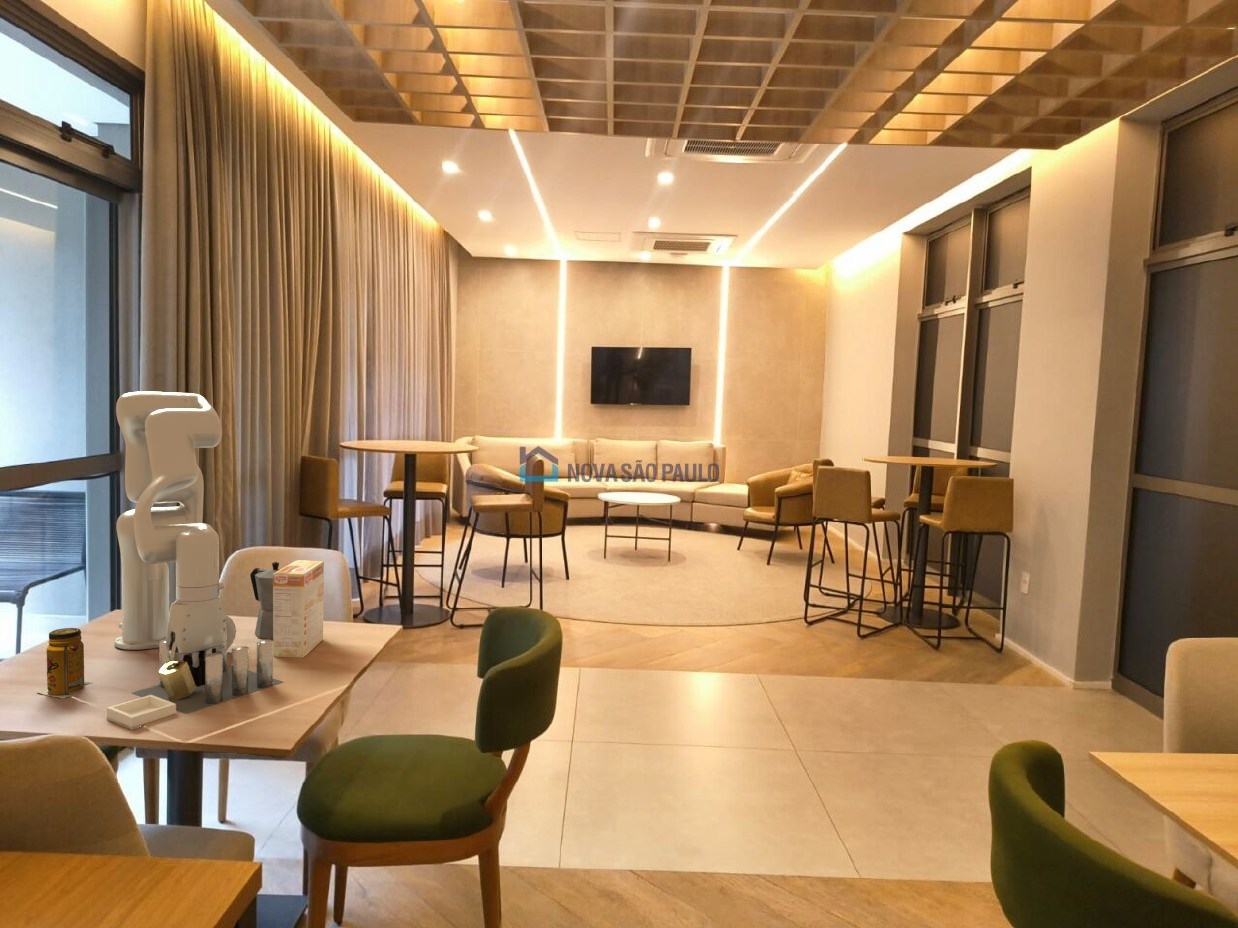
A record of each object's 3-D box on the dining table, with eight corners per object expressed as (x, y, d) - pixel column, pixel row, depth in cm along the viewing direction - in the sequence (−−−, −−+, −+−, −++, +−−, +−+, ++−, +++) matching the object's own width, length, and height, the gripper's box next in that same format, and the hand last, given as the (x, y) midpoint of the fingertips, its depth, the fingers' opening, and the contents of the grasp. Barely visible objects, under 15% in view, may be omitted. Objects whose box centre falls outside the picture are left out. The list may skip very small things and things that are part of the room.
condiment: (36, 693, 159) (35, 632, 158) (79, 679, 167) (78, 622, 166) (62, 699, 156) (61, 637, 155) (104, 685, 164) (103, 627, 163)
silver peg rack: (156, 685, 164) (156, 641, 163) (221, 667, 176) (221, 626, 175) (211, 705, 155) (211, 658, 154) (275, 684, 167) (276, 641, 166)
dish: (106, 719, 148) (106, 707, 148) (151, 705, 155) (150, 694, 154) (131, 729, 144) (131, 717, 144) (176, 715, 151) (176, 703, 150)
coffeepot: (309, 634, 203) (309, 562, 202) (277, 643, 195) (277, 568, 194) (267, 623, 211) (267, 554, 209) (234, 632, 202) (234, 560, 201)
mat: (131, 694, 160) (131, 692, 160) (229, 666, 178) (229, 664, 178) (186, 715, 151) (186, 713, 151) (284, 683, 169) (284, 681, 169)
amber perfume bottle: (180, 701, 156) (169, 675, 154) (164, 696, 159) (154, 670, 156) (200, 688, 160) (190, 662, 157) (184, 683, 162) (174, 657, 160)
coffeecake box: (295, 638, 199) (295, 559, 198) (324, 639, 200) (325, 560, 198) (271, 658, 184) (271, 572, 183) (303, 659, 185) (303, 573, 183)
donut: (192, 663, 179) (192, 618, 178) (186, 659, 182) (186, 614, 181) (238, 653, 187) (238, 610, 186) (232, 650, 189) (232, 607, 188)
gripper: (220, 583, 169) (221, 670, 170) (148, 597, 156) (149, 691, 157) (244, 588, 165) (244, 677, 166) (171, 603, 152) (172, 699, 154)
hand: (198, 683), depth 162 cm, fingers closed
